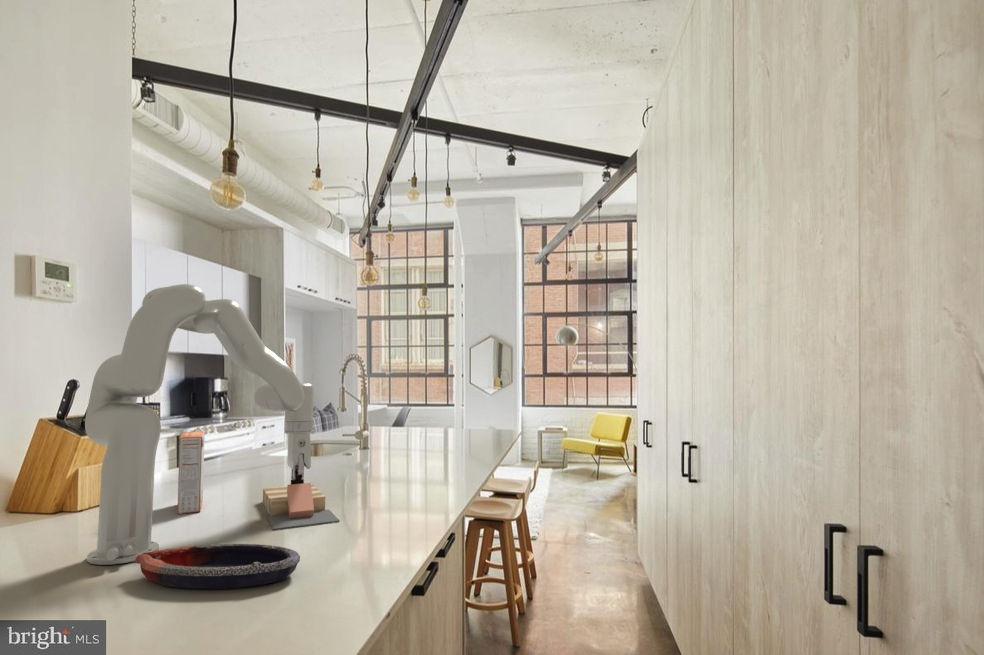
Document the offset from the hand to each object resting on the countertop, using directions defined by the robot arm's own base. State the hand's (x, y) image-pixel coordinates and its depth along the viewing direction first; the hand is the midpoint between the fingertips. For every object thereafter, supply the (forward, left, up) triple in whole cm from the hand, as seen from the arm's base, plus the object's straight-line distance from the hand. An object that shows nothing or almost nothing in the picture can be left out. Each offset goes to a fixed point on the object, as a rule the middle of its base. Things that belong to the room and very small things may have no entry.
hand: (296, 493), depth 154 cm
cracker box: (+18, +26, -5) cm, 32 cm away
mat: (-10, 0, -5) cm, 11 cm away
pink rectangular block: (-5, 0, -1) cm, 5 cm away
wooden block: (+6, 0, -5) cm, 8 cm away
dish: (-45, +21, -5) cm, 50 cm away
